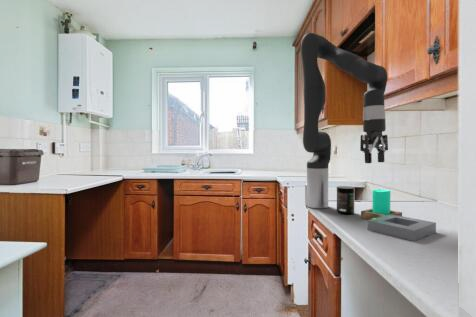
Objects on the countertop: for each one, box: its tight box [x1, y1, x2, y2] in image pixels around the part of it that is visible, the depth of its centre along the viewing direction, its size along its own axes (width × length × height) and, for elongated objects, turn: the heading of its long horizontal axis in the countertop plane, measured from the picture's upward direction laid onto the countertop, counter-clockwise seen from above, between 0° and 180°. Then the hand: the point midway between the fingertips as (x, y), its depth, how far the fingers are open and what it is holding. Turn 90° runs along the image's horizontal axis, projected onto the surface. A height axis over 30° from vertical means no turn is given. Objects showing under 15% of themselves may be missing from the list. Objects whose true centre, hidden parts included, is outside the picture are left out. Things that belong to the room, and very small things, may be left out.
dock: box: [367, 214, 437, 242], centre depth 91 cm, size 14×14×4 cm
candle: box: [372, 186, 391, 215], centre depth 106 cm, size 6×6×12 cm
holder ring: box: [360, 207, 403, 220], centre depth 106 cm, size 10×10×2 cm
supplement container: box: [336, 185, 356, 216], centre depth 115 cm, size 7×7×10 cm
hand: (374, 162), depth 107 cm, fingers open, 8 cm apart
